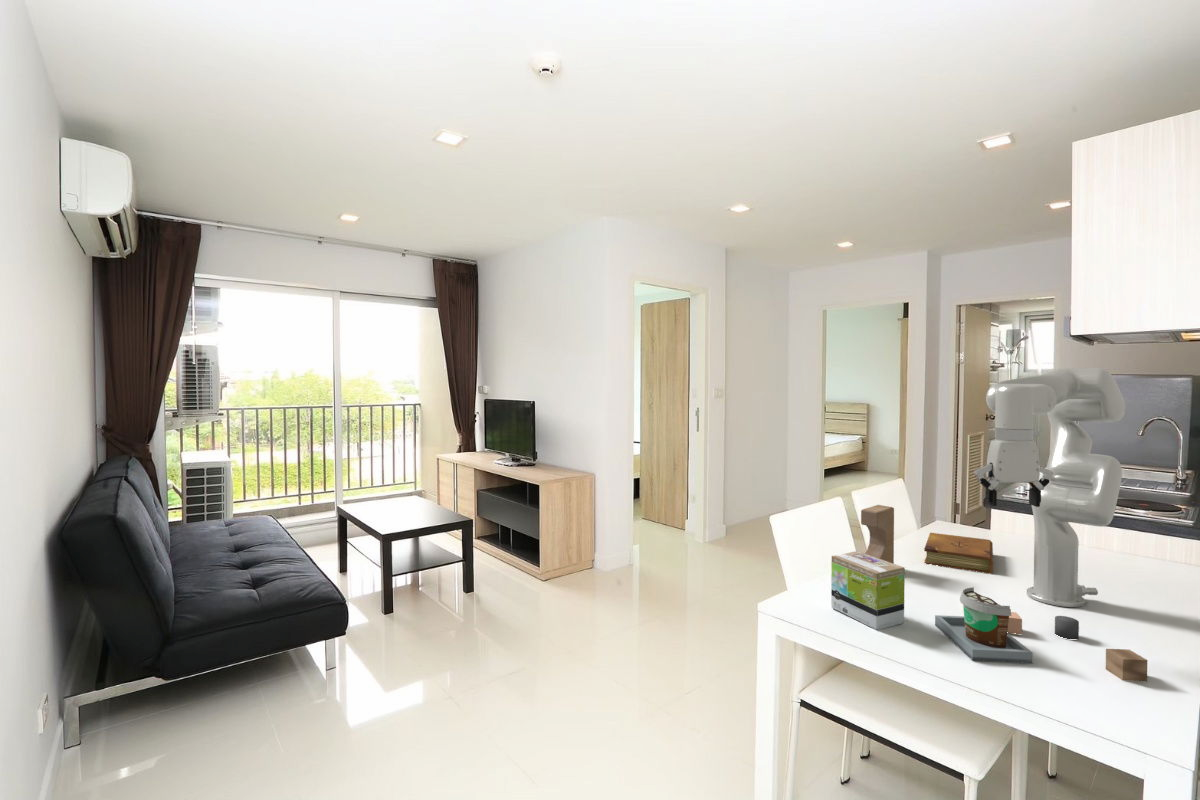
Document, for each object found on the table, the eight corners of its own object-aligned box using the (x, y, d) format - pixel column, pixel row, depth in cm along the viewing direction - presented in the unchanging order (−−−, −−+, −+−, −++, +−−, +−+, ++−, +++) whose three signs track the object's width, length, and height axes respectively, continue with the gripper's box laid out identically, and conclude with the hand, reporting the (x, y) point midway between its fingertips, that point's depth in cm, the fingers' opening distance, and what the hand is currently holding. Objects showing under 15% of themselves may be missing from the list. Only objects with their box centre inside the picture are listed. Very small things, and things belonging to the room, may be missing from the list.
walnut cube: (1129, 670, 119) (1129, 649, 119) (1147, 681, 115) (1147, 660, 115) (1105, 669, 120) (1105, 648, 120) (1122, 680, 116) (1123, 659, 115)
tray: (986, 627, 140) (987, 617, 140) (1032, 663, 123) (1032, 652, 122) (935, 625, 142) (935, 615, 142) (972, 660, 124) (972, 649, 124)
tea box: (829, 608, 153) (829, 554, 152) (857, 602, 157) (857, 549, 156) (876, 631, 139) (877, 571, 138) (905, 624, 143) (906, 565, 142)
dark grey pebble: (1070, 632, 137) (1070, 616, 137) (1083, 640, 133) (1083, 623, 133) (1050, 631, 138) (1050, 615, 138) (1062, 639, 133) (1062, 623, 133)
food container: (947, 627, 139) (947, 587, 138) (971, 626, 139) (971, 586, 139) (984, 652, 126) (985, 607, 126) (1011, 651, 127) (1011, 606, 126)
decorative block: (877, 576, 177) (877, 512, 176) (859, 571, 182) (859, 509, 181) (894, 568, 184) (895, 507, 183) (877, 564, 188) (877, 504, 187)
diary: (992, 576, 178) (993, 557, 177) (924, 565, 188) (924, 548, 188) (992, 555, 197) (992, 539, 196) (930, 547, 207) (930, 531, 207)
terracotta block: (1016, 628, 140) (1016, 612, 140) (1021, 635, 136) (1022, 619, 136) (992, 625, 142) (992, 609, 141) (997, 632, 138) (997, 616, 138)
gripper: (1042, 434, 141) (1041, 502, 142) (967, 434, 144) (967, 501, 144) (1063, 437, 134) (1061, 509, 135) (983, 437, 136) (982, 508, 137)
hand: (1012, 505), depth 139 cm, fingers open, 9 cm apart
